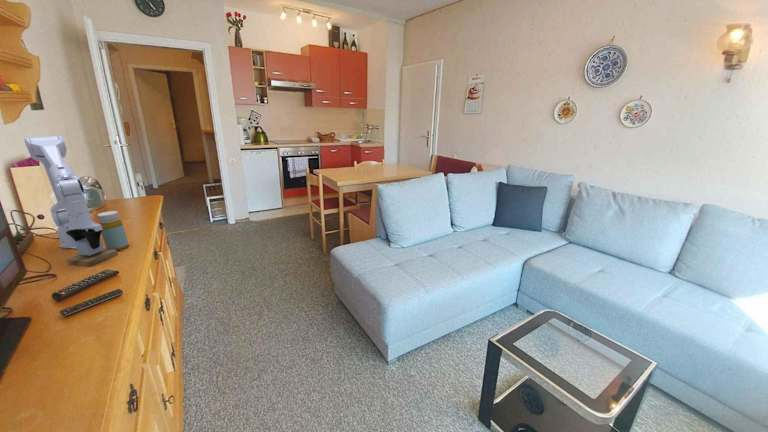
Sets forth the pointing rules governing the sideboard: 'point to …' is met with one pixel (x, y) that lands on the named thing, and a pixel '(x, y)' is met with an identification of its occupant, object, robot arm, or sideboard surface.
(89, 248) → the cube
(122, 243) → the bottle
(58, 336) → the sideboard surface
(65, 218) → the robot arm
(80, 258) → the base slab
